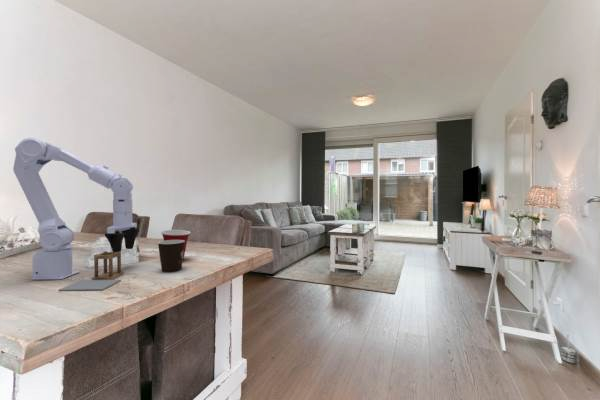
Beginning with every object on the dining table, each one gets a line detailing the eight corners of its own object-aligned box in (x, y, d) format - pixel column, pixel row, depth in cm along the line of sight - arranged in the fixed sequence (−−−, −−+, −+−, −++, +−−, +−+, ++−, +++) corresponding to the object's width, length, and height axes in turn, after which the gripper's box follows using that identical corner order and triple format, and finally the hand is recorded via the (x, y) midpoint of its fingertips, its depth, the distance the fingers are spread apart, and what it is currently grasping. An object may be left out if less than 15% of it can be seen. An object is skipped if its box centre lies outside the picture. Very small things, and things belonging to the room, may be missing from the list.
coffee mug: (174, 274, 94) (174, 244, 94) (152, 272, 96) (152, 243, 96) (194, 265, 106) (194, 238, 105) (174, 263, 107) (174, 238, 107)
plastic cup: (180, 264, 106) (180, 233, 106) (155, 263, 108) (154, 232, 108) (196, 258, 117) (195, 229, 117) (172, 256, 119) (172, 228, 118)
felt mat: (58, 291, 78) (58, 289, 78) (80, 281, 86) (80, 280, 86) (102, 290, 78) (102, 289, 78) (120, 280, 87) (120, 279, 87)
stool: (92, 280, 87) (91, 255, 87) (104, 275, 93) (104, 251, 93) (112, 280, 87) (111, 255, 87) (123, 275, 93) (122, 251, 93)
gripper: (122, 214, 91) (123, 255, 91) (145, 211, 105) (145, 246, 106) (100, 214, 90) (100, 255, 91) (125, 211, 105) (126, 247, 105)
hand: (123, 251), depth 98 cm, fingers open, 7 cm apart
